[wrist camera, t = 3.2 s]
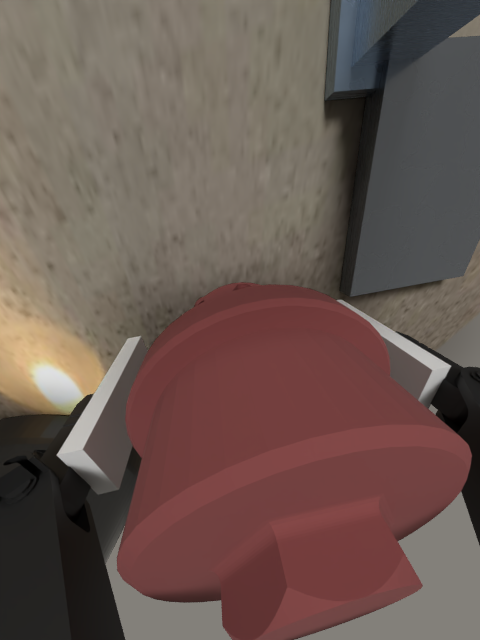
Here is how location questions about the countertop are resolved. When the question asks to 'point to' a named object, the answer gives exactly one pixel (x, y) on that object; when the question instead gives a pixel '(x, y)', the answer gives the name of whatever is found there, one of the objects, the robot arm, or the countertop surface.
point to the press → (409, 138)
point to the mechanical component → (279, 464)
